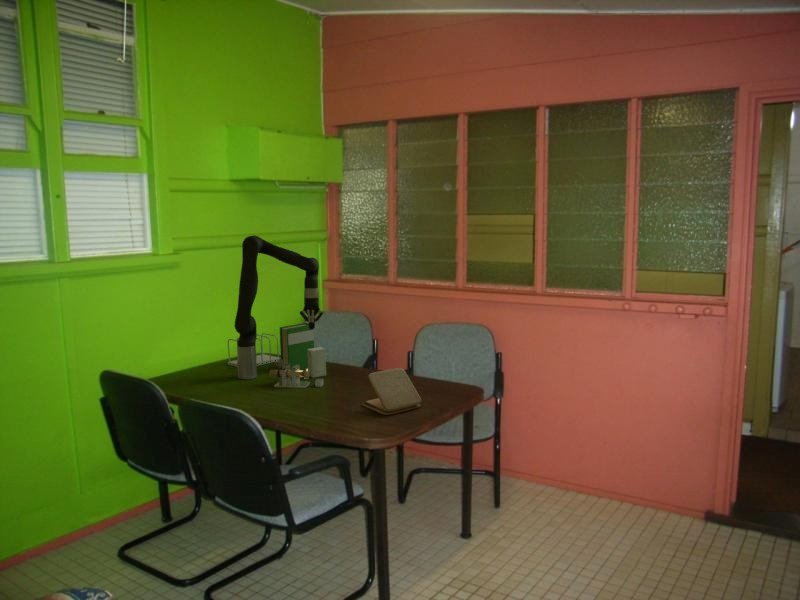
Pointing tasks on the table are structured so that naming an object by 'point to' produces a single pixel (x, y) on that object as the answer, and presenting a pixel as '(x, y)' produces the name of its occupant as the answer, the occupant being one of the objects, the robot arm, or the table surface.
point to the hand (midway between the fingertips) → (311, 329)
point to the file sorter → (259, 358)
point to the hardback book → (296, 344)
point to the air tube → (299, 373)
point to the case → (392, 392)
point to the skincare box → (316, 362)
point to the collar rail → (293, 377)
